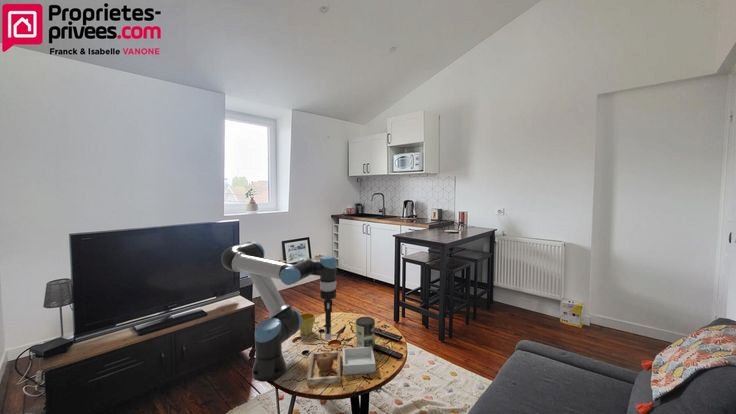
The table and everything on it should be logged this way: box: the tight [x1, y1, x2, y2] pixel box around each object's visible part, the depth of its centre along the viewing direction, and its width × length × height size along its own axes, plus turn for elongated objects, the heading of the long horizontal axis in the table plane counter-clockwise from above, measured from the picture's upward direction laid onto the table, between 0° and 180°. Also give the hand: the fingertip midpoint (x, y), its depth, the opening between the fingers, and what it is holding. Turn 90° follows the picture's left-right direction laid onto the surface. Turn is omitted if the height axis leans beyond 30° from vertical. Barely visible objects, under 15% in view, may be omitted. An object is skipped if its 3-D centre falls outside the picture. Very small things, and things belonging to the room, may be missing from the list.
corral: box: [306, 350, 341, 386], centre depth 141 cm, size 14×21×2 cm
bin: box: [342, 346, 377, 376], centre depth 144 cm, size 15×15×4 cm
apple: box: [316, 353, 335, 372], centre depth 141 cm, size 8×8×8 cm
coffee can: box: [355, 316, 376, 350], centre depth 161 cm, size 10×10×14 cm
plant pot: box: [299, 312, 316, 336], centre depth 177 cm, size 10×10×10 cm
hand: (328, 332), depth 142 cm, fingers open, 13 cm apart
